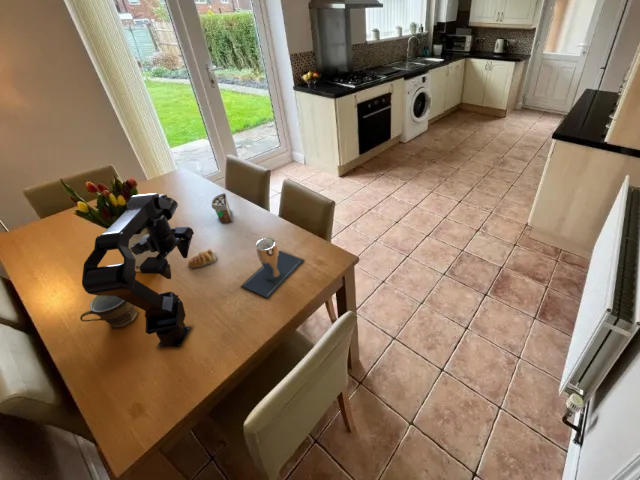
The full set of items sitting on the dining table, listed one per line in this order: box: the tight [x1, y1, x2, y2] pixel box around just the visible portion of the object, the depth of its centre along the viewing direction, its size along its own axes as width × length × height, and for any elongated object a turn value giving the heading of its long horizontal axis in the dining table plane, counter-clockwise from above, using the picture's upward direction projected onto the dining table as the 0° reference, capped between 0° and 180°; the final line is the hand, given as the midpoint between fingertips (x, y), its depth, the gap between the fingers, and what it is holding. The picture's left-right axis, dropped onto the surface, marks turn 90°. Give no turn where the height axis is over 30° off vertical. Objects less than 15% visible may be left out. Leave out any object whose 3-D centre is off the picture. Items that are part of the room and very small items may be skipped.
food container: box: [211, 192, 232, 224], centre depth 144 cm, size 12×6×10 cm, turn 25°
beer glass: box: [255, 237, 282, 280], centre depth 113 cm, size 7×7×15 cm
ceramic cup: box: [79, 295, 138, 328], centre depth 98 cm, size 13×10×10 cm
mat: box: [241, 250, 304, 299], centre depth 118 cm, size 20×12×1 cm, turn 155°
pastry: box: [187, 248, 217, 269], centre depth 122 cm, size 9×7×4 cm
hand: (177, 267), depth 102 cm, fingers open, 9 cm apart
